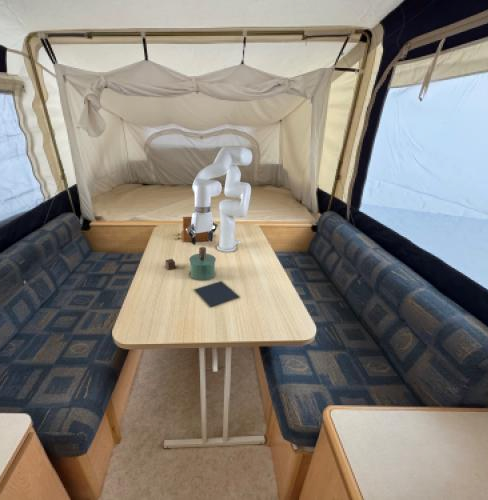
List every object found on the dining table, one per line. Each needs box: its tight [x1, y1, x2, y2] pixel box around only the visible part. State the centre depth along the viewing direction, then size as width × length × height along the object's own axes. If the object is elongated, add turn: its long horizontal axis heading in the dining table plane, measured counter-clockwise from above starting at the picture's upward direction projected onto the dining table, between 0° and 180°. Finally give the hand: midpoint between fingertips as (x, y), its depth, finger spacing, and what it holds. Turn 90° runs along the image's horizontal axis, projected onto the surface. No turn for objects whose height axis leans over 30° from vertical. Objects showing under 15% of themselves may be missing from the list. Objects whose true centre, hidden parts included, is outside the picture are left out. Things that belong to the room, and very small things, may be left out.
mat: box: [194, 281, 240, 308], centre depth 125 cm, size 15×15×1 cm
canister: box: [189, 261, 216, 281], centre depth 139 cm, size 13×13×8 cm
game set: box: [174, 216, 215, 243], centre depth 183 cm, size 28×22×19 cm
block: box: [165, 258, 176, 271], centre depth 146 cm, size 4×4×4 cm
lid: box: [189, 246, 217, 266], centre depth 136 cm, size 14×14×7 cm
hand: (201, 242), depth 134 cm, fingers open, 9 cm apart
